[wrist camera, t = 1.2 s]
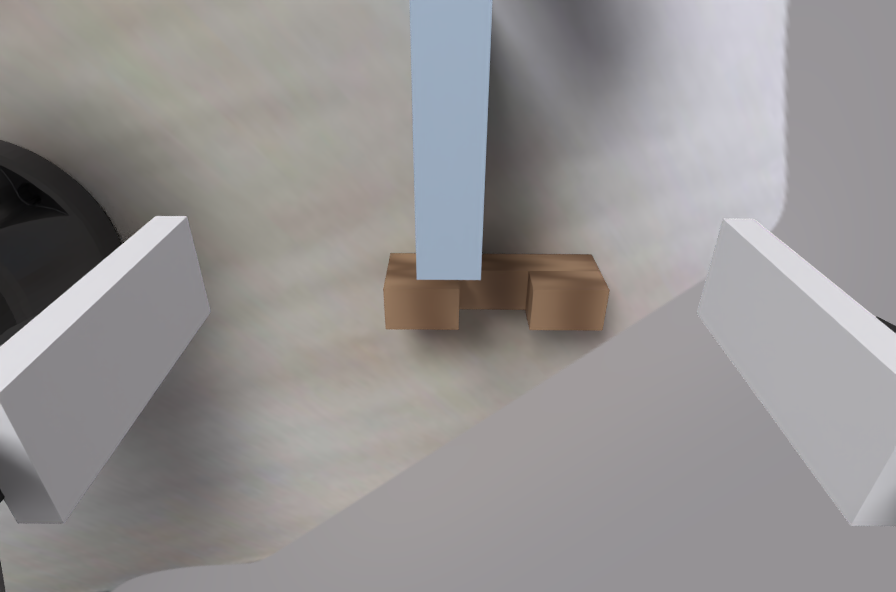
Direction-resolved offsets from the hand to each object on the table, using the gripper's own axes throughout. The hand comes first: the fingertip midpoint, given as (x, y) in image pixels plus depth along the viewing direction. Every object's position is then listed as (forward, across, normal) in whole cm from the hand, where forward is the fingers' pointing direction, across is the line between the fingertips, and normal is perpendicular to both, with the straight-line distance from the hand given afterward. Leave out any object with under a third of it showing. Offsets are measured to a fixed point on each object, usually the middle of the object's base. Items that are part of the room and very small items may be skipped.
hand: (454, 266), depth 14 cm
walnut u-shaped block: (+22, +3, -12) cm, 25 cm away
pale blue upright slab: (+22, 0, 0) cm, 22 cm away
